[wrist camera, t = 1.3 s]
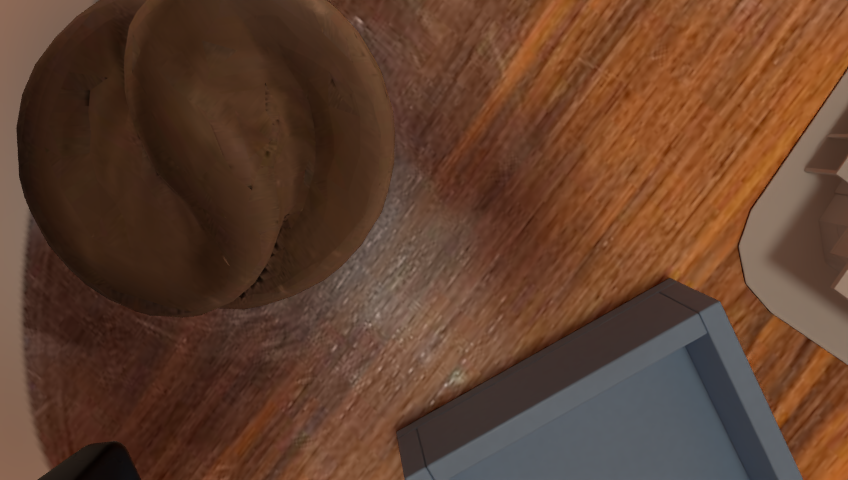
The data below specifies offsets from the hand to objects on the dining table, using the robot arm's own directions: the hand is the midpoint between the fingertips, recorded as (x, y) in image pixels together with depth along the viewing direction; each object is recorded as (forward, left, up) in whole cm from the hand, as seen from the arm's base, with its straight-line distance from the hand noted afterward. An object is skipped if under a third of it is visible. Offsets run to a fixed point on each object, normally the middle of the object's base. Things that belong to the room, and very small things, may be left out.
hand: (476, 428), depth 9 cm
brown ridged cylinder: (-2, +5, -17) cm, 17 cm away
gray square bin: (+2, -12, -17) cm, 21 cm away
